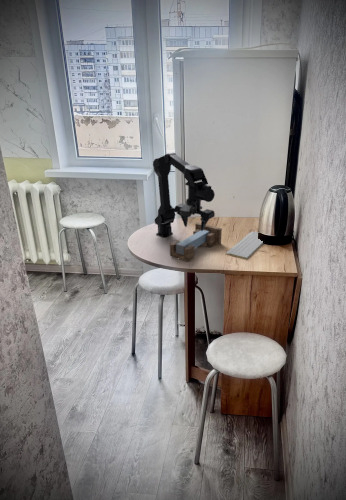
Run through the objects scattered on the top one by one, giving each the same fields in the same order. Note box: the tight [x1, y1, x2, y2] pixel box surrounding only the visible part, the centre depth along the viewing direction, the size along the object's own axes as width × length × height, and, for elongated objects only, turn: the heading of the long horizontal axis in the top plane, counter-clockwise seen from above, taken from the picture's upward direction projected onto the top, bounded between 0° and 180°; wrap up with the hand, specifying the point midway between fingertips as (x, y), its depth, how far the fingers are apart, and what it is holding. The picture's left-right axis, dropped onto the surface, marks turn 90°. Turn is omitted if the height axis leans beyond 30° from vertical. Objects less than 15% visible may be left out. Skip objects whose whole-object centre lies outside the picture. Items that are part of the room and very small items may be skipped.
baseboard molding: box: [225, 228, 264, 260], centre depth 190 cm, size 31×3×12 cm
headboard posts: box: [169, 222, 223, 262], centre depth 184 cm, size 14×26×8 cm, turn 143°
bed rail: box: [176, 230, 210, 255], centre depth 183 cm, size 4×22×4 cm, turn 143°
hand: (193, 228), depth 180 cm, fingers open, 9 cm apart
